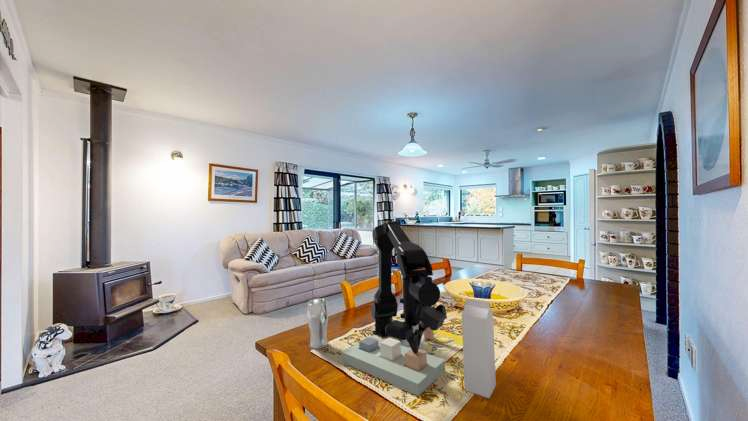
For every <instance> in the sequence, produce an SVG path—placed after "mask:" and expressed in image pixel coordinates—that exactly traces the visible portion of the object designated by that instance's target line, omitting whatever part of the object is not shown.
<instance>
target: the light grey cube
mask: <svg viewBox="0 0 748 421" xmlns="http://www.w3.org/2000/svg"><path fill="white" fill-rule="evenodd" d="M383 340H384V341H382V342H381V343H380V349H381V358H384V359H386V360H389V361H391V362H393V361H395V360H396V359H398V358H399V357H401V346H402V344H401V341H402V340H399V339H396V338H393V337H386V338H385V339H383Z"/></svg>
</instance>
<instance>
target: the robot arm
mask: <svg viewBox="0 0 748 421" xmlns="http://www.w3.org/2000/svg"><path fill="white" fill-rule="evenodd" d="M371 233H372V235H371V236H372V239H373V243H374V245H375V248H377V250H378V289H377V290H376V292H375V294H374V297H373V299H374V300H373V302H372V305H371V309H370V312H371V313H370V314H371V317H372V318H373V320H375V321H374V330H372V334H375V335H377V336H381V337H383V338H388V337H389V338H392V339H396V340H399V341H407V343H408V346H409V348H410V349H412V351H413V353H417V352H418V350H420V345H421V342H422V339H423V338H422V337H423V332H424V331H425V330H426V329H427V328H429V327H430V329H432V330H433V332H434V331H438V330H439V329H440V328H442V327H443V325H444V322H445V320H446V319H448V316H447V308H446V306H445V305H444V304H442V303H441V304H439V305H437V306H435V305H436V304H437V303H438V302H439V300H440V297H441V290H440V288H439V287H438V285H437V284H436V283H434V282H433V277H431V276H433V275H434V272H433V268H434V267H433V266H432V264H431V262H430V260H429V257H428V254H427V253H426V252H425V250H424V249H423V248H422V247H421V246H420V244H416V243H413V242H412V241H411V240H410V238H409V237H408V235H407V234H406V233H405V231H404V229H403V228H402V226H401V223H400V221H397V220H390V221H385V222H383V223H382V224H380V225H376V226H375V227H374V228H373V230H372V232H371ZM394 249H395V250H396V251H397V252H396V253H397V254H396V262H397V266H398V269H399V271H400V275H401V278H402V279H401V280H402V281H401V282H402V283H401V284H402V285H401V286H402V298H399V303H398V301H397V298H396V296H395V294H394V293H393V291H392V252H393V250H394ZM399 304H402V308H403V309H402V313H400V314H399V315H400V316H399V317H400V319H402V320H404V321H401V320H397V319H395V320H393V318H394V317H397V316H398V315H397V314H398V309H399V308H398V307H399Z"/></svg>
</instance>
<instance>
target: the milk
mask: <svg viewBox="0 0 748 421" xmlns="http://www.w3.org/2000/svg"><path fill="white" fill-rule="evenodd" d="M464 302H465V305H464V307H463V310H462V313H461V332H462V356H463V359H462V360H463V385H464V388H463V389H464V391H467V392H468V393H472V394H474V395H478V396H481V397H483V398H487V399H490V398H491V396H492V394H493V393H494V391H495V388H496V386H497V385H496V384H497V383H496V360H495V359H496V358H495V357H496V355H495V354H496V353H495V328H494V327H495V326H494V310H492V308H490V306H491V305H490V302H489V301H486V300H480V299H474V298H473V299H472V298H465V301H464Z"/></svg>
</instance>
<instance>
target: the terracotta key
mask: <svg viewBox="0 0 748 421" xmlns="http://www.w3.org/2000/svg"><path fill="white" fill-rule="evenodd" d="M426 354H427V352H426V351H425V350H421V349H419V350H418V352H417V353H413V351H412V349H411V348H410V350H409V351H407V352H406V353H405V367H407V368H410V369H412V370H415V371H417V372H420V371H421V370H422V369H423V368H425V367H426V366H427V357H426Z"/></svg>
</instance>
